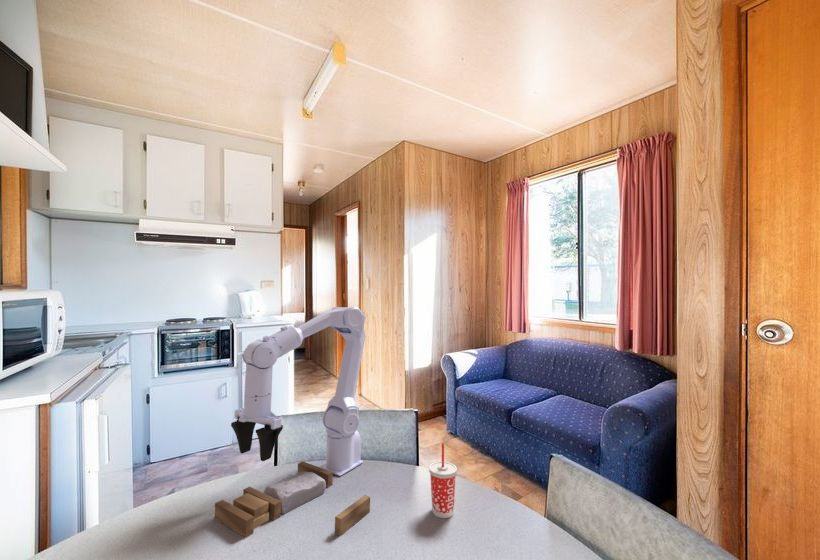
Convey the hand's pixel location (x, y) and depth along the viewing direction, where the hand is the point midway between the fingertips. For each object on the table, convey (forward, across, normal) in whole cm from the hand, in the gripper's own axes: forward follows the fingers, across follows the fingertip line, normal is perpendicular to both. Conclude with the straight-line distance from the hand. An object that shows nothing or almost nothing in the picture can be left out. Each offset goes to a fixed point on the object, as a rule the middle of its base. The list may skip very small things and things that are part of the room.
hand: (255, 455), depth 74 cm
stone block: (+10, +6, +6) cm, 14 cm away
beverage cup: (+10, +38, +19) cm, 44 cm away
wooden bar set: (+10, +12, +3) cm, 16 cm away
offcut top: (+8, +5, -4) cm, 10 cm away
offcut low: (+10, +5, -4) cm, 12 cm away
